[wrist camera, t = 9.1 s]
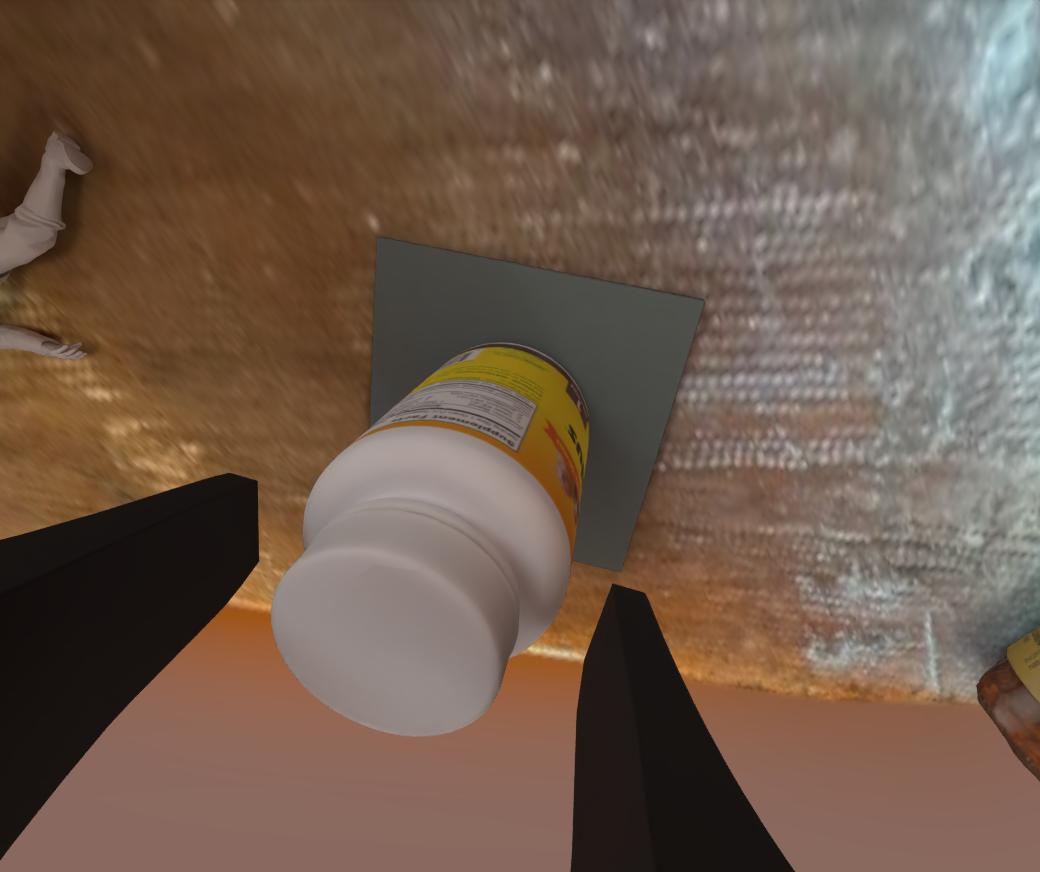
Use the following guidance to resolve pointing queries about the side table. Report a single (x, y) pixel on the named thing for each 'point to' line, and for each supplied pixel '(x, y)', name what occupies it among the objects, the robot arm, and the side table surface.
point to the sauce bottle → (1016, 699)
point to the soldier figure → (39, 235)
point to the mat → (561, 336)
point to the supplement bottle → (438, 544)
